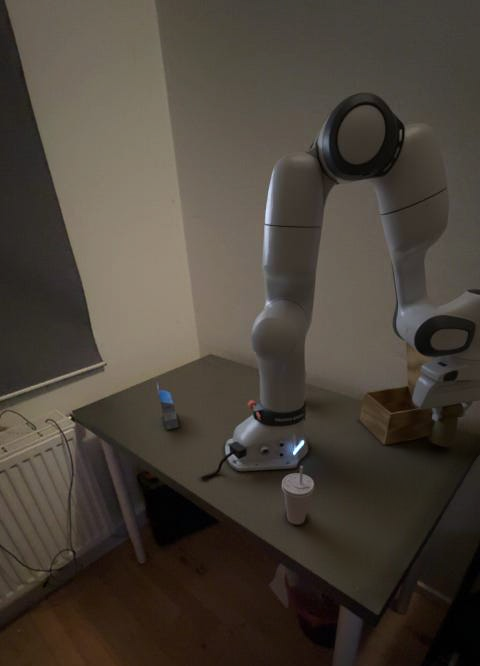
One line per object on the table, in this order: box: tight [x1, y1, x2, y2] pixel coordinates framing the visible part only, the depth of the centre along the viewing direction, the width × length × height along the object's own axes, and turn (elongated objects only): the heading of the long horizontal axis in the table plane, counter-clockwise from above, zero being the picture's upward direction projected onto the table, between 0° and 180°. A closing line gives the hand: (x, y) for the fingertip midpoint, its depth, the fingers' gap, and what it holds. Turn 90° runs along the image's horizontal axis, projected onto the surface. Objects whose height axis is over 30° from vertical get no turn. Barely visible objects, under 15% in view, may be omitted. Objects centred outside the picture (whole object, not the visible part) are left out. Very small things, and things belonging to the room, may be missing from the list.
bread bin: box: [359, 385, 435, 446], centre depth 98 cm, size 14×13×10 cm
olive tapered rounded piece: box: [427, 404, 463, 447], centre depth 87 cm, size 6×6×11 cm
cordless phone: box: [156, 382, 179, 431], centre depth 107 cm, size 9×4×12 cm, turn 16°
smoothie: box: [281, 465, 315, 525], centre depth 70 cm, size 6×6×14 cm
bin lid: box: [405, 341, 437, 389], centre depth 92 cm, size 15×13×1 cm
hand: (447, 417), depth 86 cm, fingers closed on olive tapered rounded piece, 5 cm apart
